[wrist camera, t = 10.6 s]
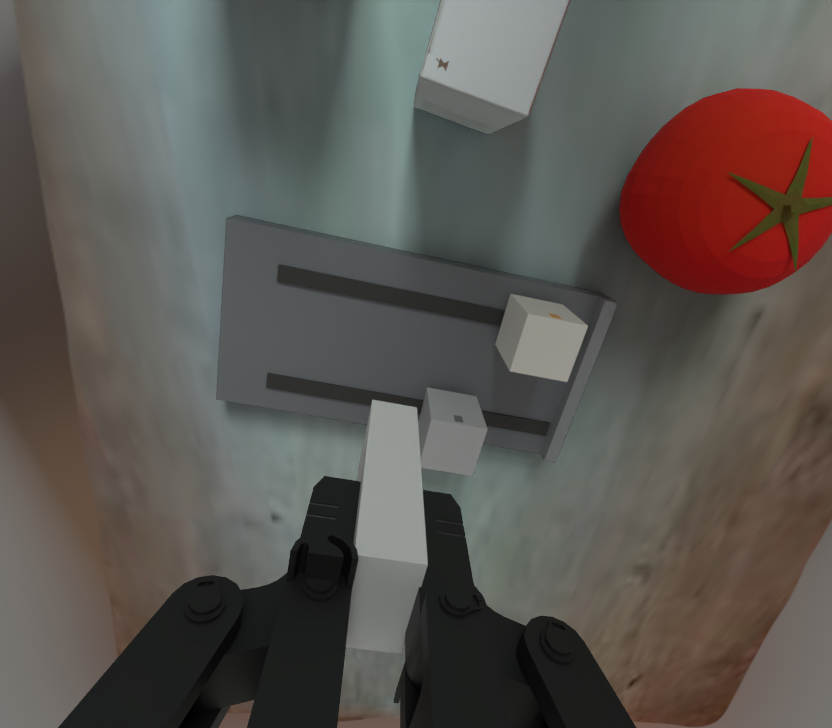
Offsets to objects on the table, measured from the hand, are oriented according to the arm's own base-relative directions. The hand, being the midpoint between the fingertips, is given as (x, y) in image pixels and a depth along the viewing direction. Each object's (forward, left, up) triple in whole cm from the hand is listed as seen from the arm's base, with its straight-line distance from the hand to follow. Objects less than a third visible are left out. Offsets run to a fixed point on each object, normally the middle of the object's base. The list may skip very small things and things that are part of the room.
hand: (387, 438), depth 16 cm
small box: (-16, +2, -22) cm, 27 cm away
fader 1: (+9, +6, -19) cm, 22 cm away
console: (+4, +2, -22) cm, 22 cm away
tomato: (-11, +19, -22) cm, 31 cm away
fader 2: (0, +10, -19) cm, 22 cm away
